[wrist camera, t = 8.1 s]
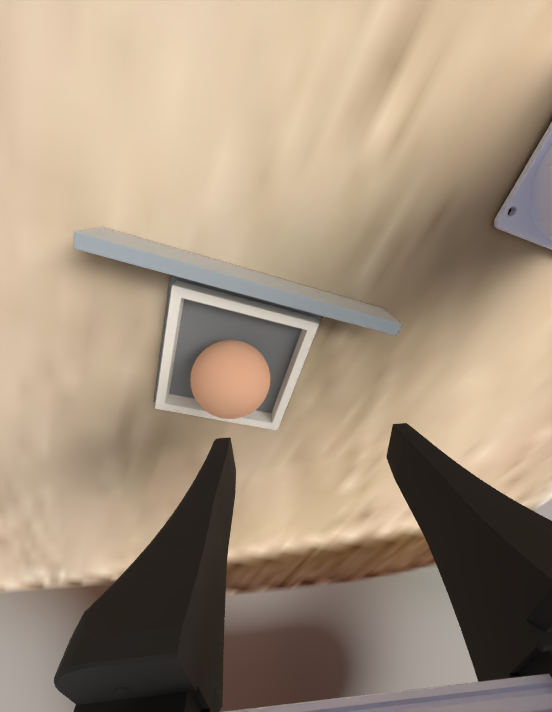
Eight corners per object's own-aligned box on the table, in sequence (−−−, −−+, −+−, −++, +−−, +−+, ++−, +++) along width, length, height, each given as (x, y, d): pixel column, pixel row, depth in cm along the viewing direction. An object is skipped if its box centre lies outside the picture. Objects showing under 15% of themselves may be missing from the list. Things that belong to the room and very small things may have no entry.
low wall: (102, 226, 16) (73, 231, 14) (382, 308, 20) (402, 324, 17) (102, 241, 17) (74, 248, 14) (377, 318, 20) (396, 336, 17)
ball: (194, 327, 19) (177, 365, 15) (269, 327, 19) (274, 364, 15) (201, 389, 21) (188, 437, 17) (267, 388, 22) (271, 435, 17)
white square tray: (172, 270, 18) (165, 276, 16) (322, 312, 20) (327, 319, 18) (154, 399, 22) (148, 411, 21) (279, 422, 24) (280, 435, 23)
